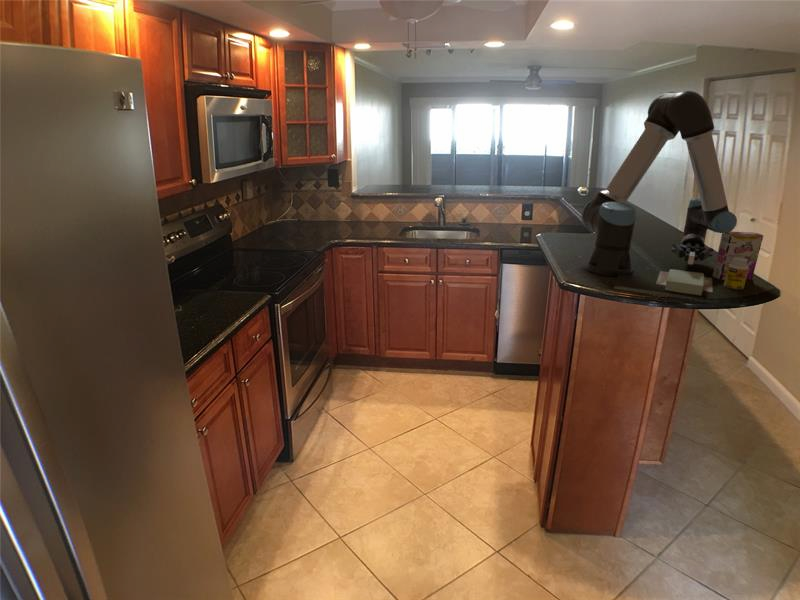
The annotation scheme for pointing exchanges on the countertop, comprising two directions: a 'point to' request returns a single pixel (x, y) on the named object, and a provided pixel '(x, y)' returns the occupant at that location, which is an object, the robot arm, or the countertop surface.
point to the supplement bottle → (736, 274)
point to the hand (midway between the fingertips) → (691, 260)
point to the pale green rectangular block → (685, 282)
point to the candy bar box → (737, 251)
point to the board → (664, 275)
